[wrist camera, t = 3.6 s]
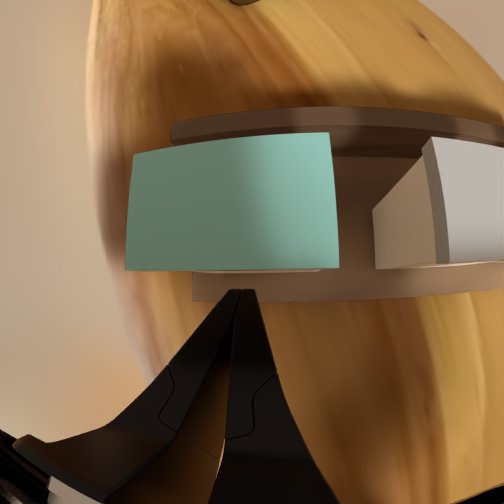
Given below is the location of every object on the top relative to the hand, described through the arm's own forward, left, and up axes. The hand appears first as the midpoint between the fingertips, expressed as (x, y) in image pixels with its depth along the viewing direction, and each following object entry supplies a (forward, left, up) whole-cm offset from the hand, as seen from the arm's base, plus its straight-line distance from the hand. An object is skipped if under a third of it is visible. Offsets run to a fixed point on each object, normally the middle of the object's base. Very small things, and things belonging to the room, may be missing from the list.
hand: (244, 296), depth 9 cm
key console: (+9, -2, -7) cm, 11 cm away
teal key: (+2, +2, -5) cm, 6 cm away
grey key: (+8, -3, -5) cm, 10 cm away
